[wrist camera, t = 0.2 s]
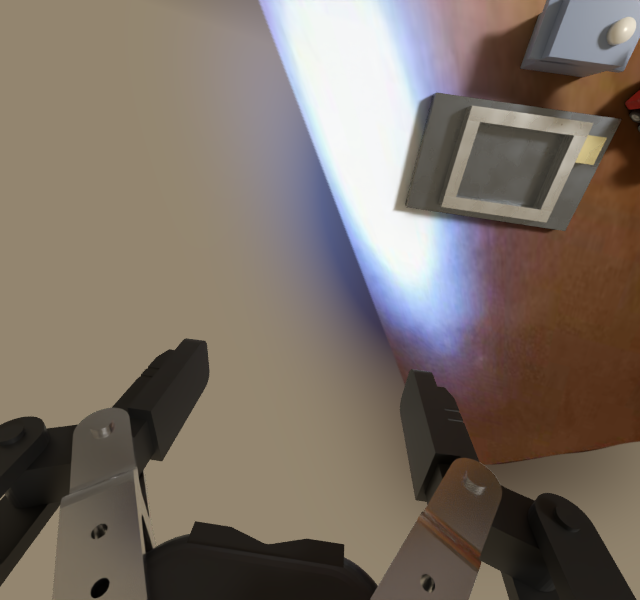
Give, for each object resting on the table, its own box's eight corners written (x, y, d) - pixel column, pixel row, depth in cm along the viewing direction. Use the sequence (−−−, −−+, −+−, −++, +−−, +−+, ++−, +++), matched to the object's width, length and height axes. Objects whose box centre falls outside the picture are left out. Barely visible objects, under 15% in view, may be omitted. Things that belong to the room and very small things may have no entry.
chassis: (433, 94, 31) (440, 90, 29) (612, 119, 31) (634, 118, 29) (405, 205, 36) (409, 209, 34) (558, 228, 36) (573, 234, 34)
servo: (527, 12, 28) (565, -15, 23) (616, 25, 28) (673, 0, 23) (509, 67, 30) (540, 52, 25) (592, 78, 30) (640, 66, 25)
